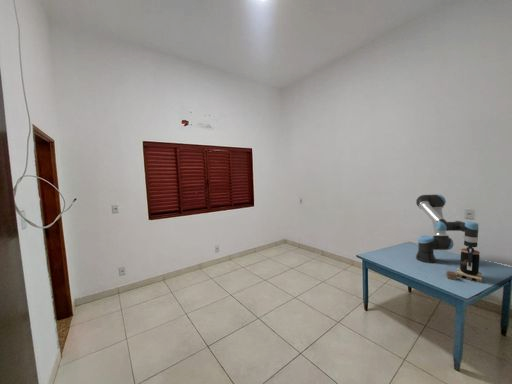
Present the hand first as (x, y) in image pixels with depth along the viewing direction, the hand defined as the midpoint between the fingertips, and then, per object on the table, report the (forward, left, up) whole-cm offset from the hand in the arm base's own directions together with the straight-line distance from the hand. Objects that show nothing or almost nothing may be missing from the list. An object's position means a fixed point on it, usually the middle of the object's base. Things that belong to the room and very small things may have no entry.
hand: (469, 267), depth 170 cm
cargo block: (+12, -10, -8) cm, 18 cm away
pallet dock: (0, 0, -8) cm, 8 cm away
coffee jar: (0, 0, -4) cm, 4 cm away
